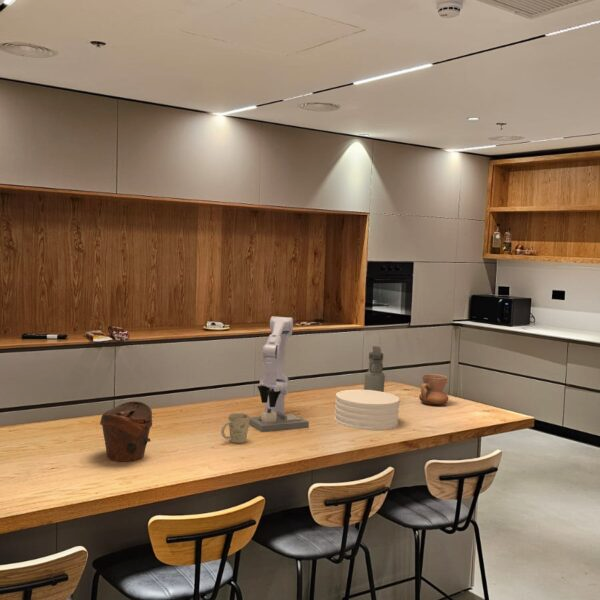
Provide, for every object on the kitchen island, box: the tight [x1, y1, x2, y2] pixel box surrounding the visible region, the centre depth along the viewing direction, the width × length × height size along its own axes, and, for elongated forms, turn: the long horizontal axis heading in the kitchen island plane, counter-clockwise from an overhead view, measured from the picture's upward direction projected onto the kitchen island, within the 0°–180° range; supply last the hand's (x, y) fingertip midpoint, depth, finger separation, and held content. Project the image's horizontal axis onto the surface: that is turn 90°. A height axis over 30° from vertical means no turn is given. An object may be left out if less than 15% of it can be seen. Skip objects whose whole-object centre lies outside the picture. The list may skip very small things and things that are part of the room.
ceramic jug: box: [418, 373, 449, 406], centre depth 354 cm, size 18×14×14 cm
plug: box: [261, 409, 277, 423], centre depth 295 cm, size 4×5×8 cm
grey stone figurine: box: [363, 345, 386, 392], centre depth 347 cm, size 10×10×28 cm
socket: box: [249, 413, 310, 433], centre depth 298 cm, size 14×22×2 cm, turn 119°
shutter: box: [276, 412, 302, 422], centre depth 300 cm, size 8×8×2 cm
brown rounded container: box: [99, 400, 153, 462], centre depth 246 cm, size 18×20×18 cm
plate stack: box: [334, 389, 400, 431], centre depth 312 cm, size 28×28×12 cm
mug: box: [220, 412, 251, 444], centre depth 271 cm, size 8×13×10 cm, turn 137°
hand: (268, 404), depth 295 cm, fingers open, 7 cm apart
